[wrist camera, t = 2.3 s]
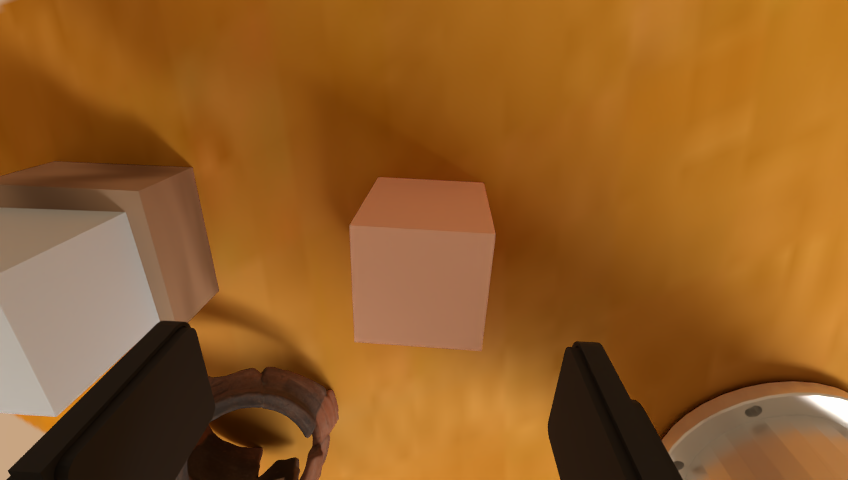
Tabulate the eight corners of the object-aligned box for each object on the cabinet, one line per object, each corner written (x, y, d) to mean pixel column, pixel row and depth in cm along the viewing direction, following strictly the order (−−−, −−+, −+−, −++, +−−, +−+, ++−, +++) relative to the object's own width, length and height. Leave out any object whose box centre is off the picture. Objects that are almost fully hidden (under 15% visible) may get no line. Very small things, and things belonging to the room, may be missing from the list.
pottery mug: (164, 370, 26) (106, 432, 18) (307, 313, 29) (310, 345, 21) (234, 528, 28) (209, 648, 20) (364, 461, 30) (387, 543, 22)
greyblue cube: (125, 212, 17) (-13, 279, 12) (160, 321, 19) (56, 416, 14) (0, 207, 17) (-187, 270, 12) (49, 316, 19) (-91, 407, 14)
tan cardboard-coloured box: (195, 165, 20) (138, 191, 16) (221, 288, 23) (178, 332, 19) (59, 159, 20) (-26, 183, 17) (102, 281, 23) (37, 323, 20)
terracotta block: (483, 182, 19) (495, 234, 14) (474, 274, 21) (481, 350, 16) (378, 176, 19) (349, 225, 14) (379, 268, 21) (354, 342, 16)
